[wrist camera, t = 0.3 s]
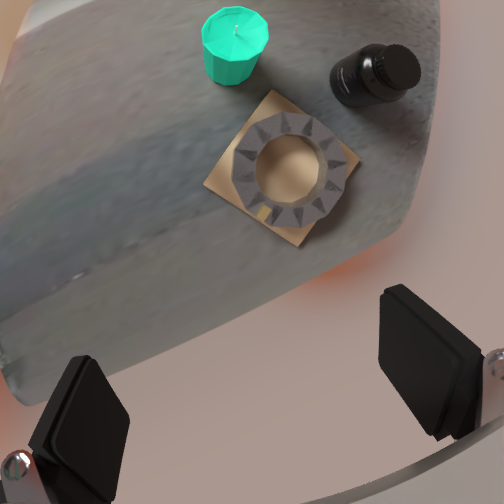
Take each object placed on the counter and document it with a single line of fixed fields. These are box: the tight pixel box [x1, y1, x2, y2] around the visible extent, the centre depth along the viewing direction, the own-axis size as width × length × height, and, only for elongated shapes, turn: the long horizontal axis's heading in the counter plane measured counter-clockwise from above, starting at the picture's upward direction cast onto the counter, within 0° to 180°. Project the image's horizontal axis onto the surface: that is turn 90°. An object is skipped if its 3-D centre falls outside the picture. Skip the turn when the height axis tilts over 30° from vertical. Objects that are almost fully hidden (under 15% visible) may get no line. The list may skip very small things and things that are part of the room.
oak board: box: [203, 89, 361, 247], centre depth 36 cm, size 14×14×1 cm
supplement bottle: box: [330, 44, 421, 108], centre depth 28 cm, size 7×7×12 cm
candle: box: [202, 6, 269, 86], centre depth 26 cm, size 6×6×12 cm
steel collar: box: [231, 111, 347, 228], centre depth 34 cm, size 13×13×4 cm
